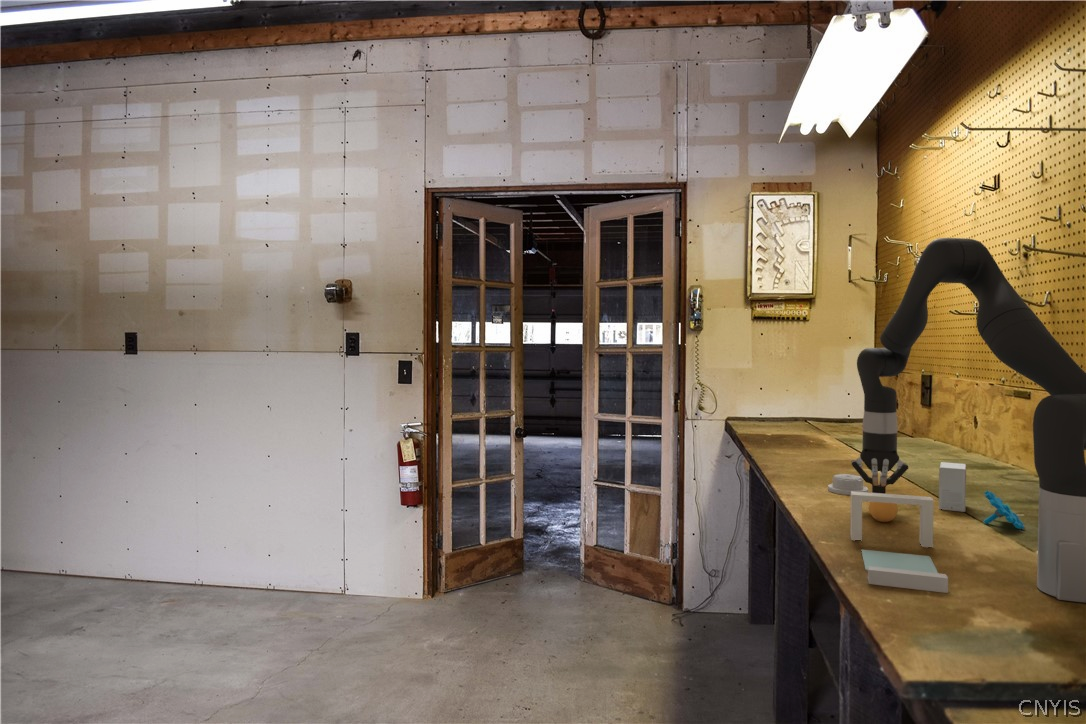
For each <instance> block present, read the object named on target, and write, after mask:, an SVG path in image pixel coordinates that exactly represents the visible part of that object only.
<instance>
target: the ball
mask: <svg viewBox="0 0 1086 724" xmlns="http://www.w3.org/2000/svg"><path fill="white" fill-rule="evenodd" d="M868 512H869V513H870V516H871V517H873V519H875V520H876V521H878V522H884V523H887V522H891V521H892V520H894V519H895V518H896V516H897V515H898V513H899V509H898V505H897V504H896V503H882V502H869V504H868Z"/></svg>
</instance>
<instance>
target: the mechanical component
mask: <svg viewBox="0 0 1086 724" xmlns="http://www.w3.org/2000/svg"><path fill="white" fill-rule="evenodd" d="M827 490H828V491H829V492H830V493H833V494H837V495H843V496H851V491H854V492H868V493H869V488H868V487H867V486H864V479H863V478H862V477H861V476H860V475H856V474H848V473H838V474H834V475H833V476H832V483H830V484H828V485H827Z"/></svg>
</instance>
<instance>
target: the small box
mask: <svg viewBox="0 0 1086 724" xmlns="http://www.w3.org/2000/svg"><path fill="white" fill-rule="evenodd" d="M938 475H939V476H938V509H939V510H941V509H942V510H944V511H953V512H962V513H966V503H967V502H966V497H967V496H966V495H967V464H966V463H957V462H947V461H946V462H944V461H941V462H940V465H939V467H938Z"/></svg>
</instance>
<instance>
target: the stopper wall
mask: <svg viewBox="0 0 1086 724" xmlns="http://www.w3.org/2000/svg"><path fill="white" fill-rule="evenodd" d="M867 583H868V585H875V586H884V587H892V588H902V589H909V590H911V589H912V590H917V591H925V592H926V591H927V592H934V593H936V592H937V593H942V594H944V593H945V594H948V593H949V577H948V576H947V574H946V573H939V572H938V573H929V572H920V571H910V570H901V569H891V568H882V567H873V566H868V571H867Z"/></svg>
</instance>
